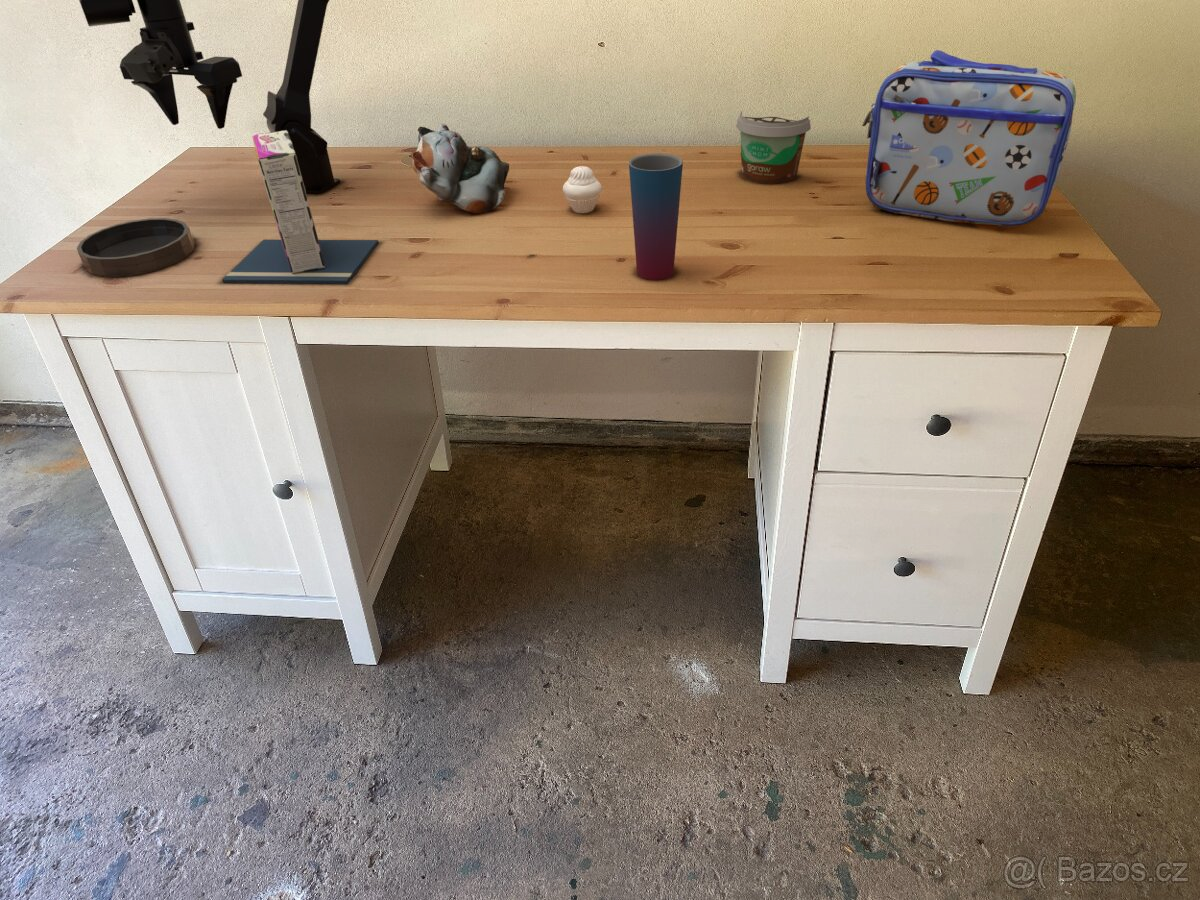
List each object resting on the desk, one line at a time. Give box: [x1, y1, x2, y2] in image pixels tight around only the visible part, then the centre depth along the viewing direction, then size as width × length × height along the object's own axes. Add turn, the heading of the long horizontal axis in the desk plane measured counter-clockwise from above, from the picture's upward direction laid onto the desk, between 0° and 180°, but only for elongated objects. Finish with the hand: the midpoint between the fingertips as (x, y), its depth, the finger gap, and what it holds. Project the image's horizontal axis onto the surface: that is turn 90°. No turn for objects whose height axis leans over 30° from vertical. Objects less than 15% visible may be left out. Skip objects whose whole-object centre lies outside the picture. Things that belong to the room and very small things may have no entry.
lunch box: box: [861, 49, 1077, 227], centre depth 120 cm, size 28×10×22 cm, turn 62°
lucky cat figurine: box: [410, 123, 510, 215], centre depth 134 cm, size 15×12×14 cm
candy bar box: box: [252, 130, 325, 274], centre depth 116 cm, size 11×5×16 cm, turn 22°
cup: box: [628, 152, 684, 281], centre depth 109 cm, size 7×7×15 cm
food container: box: [735, 110, 812, 185], centre depth 138 cm, size 12×6×10 cm, turn 68°
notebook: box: [221, 239, 379, 285], centre depth 120 cm, size 18×14×1 cm
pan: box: [76, 217, 195, 278], centre depth 124 cm, size 15×15×3 cm
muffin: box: [562, 165, 603, 214], centre depth 131 cm, size 6×6×7 cm
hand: (198, 126), depth 133 cm, fingers open, 9 cm apart
